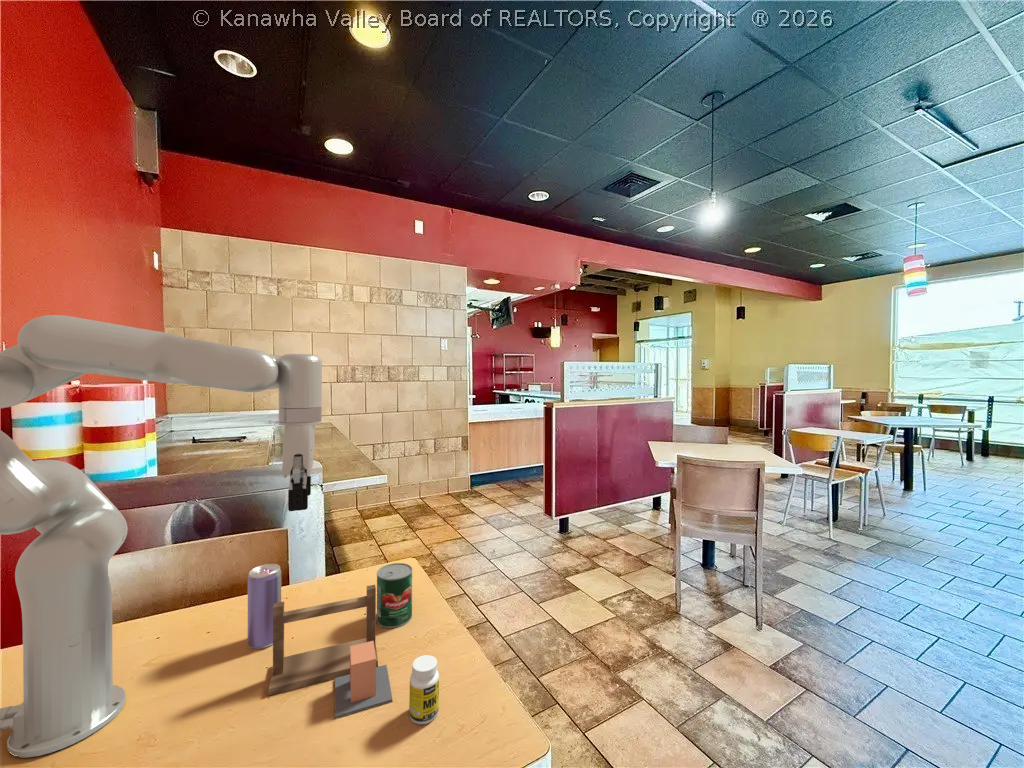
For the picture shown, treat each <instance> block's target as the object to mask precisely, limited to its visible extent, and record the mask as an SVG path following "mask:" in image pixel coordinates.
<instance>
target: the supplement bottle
mask: <svg viewBox="0 0 1024 768" xmlns="http://www.w3.org/2000/svg"><path fill="white" fill-rule="evenodd" d="M411 666H412V667H411V668H412V670H411V674H410V677H409V701H408V703H409V706H408V708H409V710H408V714H409V719H410V720H411V722H413V723H414V724H417V725H426V724H429V723H431V722H432V721H433V720H435V719H436V717H437V715H438V713H439V709H440V708H439V703H440V702H439V701H440V700H439V698H440V697H439V695H440V692H439V691H440V674H439V670H438V660H437V658H436V657H435V656H433V655H428V654H424V655H421V656H418V657H416V658H415V659H414V660H413V661H412V665H411Z"/></svg>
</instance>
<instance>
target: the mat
mask: <svg viewBox="0 0 1024 768" xmlns="http://www.w3.org/2000/svg"><path fill="white" fill-rule="evenodd" d="M387 665H388V664H383V665H380V666H379V665H378V667H376V696H372V697H369V698H365V699H362V700H358V701H355V702H351V686H350V674H349V675H345V676H341V677H337V678H334V718H335V719H339V718H341V717H345V716H348V715H352V714H355V713H358V712H362V711H365V710H368V709H373V708H375V707H378V706H382V705H385V704H389V703H391V702H393V694H392V689H391V683H390V677H389V671H388V666H387Z"/></svg>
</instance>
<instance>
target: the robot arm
mask: <svg viewBox="0 0 1024 768" xmlns="http://www.w3.org/2000/svg"><path fill="white" fill-rule="evenodd" d="M322 367H323V366H322V360H321V358H320V357H319V356H318V355H316V354H309V353H308V354H307V353H306V354H305V353H287V354H284V355H279V354H278V355H276V354H269V353H267V352H265V351H263V350H259V349H255V348H254V349H253V348H249V347H248V348H247V347H242V346H236V345H229V344H224V343H219V342H212V341H207V340H202V339H201V340H200V339H195V338H190V337H184V336H180V335H177V334H173V333H169V332H163V331H159V330H151V329H145V328H140V327H133V326H127V325H123V324H116V323H111V322H105V321H99V320H94V319H88V318H82V317H76V316H69V315H63V314H62V315H61V314H48V315H47V314H46V315H41V316H38V317H34V318H32V319H31V320H29V321H28V322H26V323H24V324H23V326H21V328H20V330H19V332H18V333H17V344H16V345H13V346H11V347H9V348H6V349H3V350H0V409H5V408H10V407H15V406H17V405H20V404H23V403H26V402H28V401H30V400H32V399H35V398H38V397H40V396H42V395H44V394H45V393H48V392H50V391H52V390H55V389H57V388H59V387H60V386H63V385H65V384H68V383H70V382H73V381H74V380H77V379H78V378H80V377H83V376H84V375H86V374H91V375H101V376H107V377H108V376H110V377H116V378H117V377H119V378H127V379H133V380H141V381H147V382H148V381H149V382H156V383H162V384H182V385H191V386H198V387H204V388H213V389H220V390H229V391H237V392H242V393H243V392H244V393H259V392H260V393H261V392H263V391H266V390H274V389H275V390H276V389H278V425H279V426H284V429H283V440H282V464H281V465H282V467H281V469H282V470H281V476H282V477H283V478H284V479H287V477H288V476H289V486H288V488H289V489H287V490H288V494H287V495H288V496H287V499H288V500H287V504H288V505H287V507H288V508H287V510H288V512H295V511H306V510H308V506H309V505H308V503H309V501H308V500H309V496H310V495H311V493H312V487H311V486H312V485H311V484H312V483H311V482H312V477H311V474H312V471H313V465H314V457H315V445H316V444H315V442H316V441H315V440H316V439H315V438H316V436H315V435H316V425H320V424H322V415H323V414H322V409H323V408H322V404H323V403H322V401H323V399H322V396H323V395H322V394H323V393H322V392H323V391H322V390H323V389H322V385H323V384H322V381H323V380H322V377H323V376H322V375H323V371H322V369H323V368H322ZM32 528H34V529H35V530H37V532H39V533H40V535H39V536H37V537H36V538H35V539H34V540H32V542H31V543H29V544H28V546H26V547H25V549H24V550H23V551H22V553H21V554H20V557H19V558H18V561H17V563H16V566H15V571H14V579H15V586H16V590H17V593H18V597H19V602H20V608H21V609H20V610H21V621H22V626H21V627H22V663H23V664H22V669H23V670H22V671H23V672H22V673H23V674H22V676H23V678H22V680H23V681H22V682H23V683H22V684H23V694H22V695H23V696H22V697H23V702H22V703H20V704H16V705H9V706H5V707H0V732H2V731H3V730H4V731H5V730H7V729H9V730H12V731H11V733H10V734H9V736H8V738H7V741H6V749H8V750H9V752H11V753H12V754H14V755H17V756H19V757H20V758H21V759H22V758H33V757H41V756H44V755H48V754H52V753H54V752H57V751H60V750H62V749H65V748H68V747H70V746H72V745H74V744H76V743H78V742H80V741H82V740H84V739H86V738H88V737H89V736H91V735H93V734H95V733H96V732H97V731H99V730H101V729H102V728H103V727H105V726H106V725H107V724H109V722H110V721H112V720H113V719H114V718H115V717H116V716H117V715H118V714H119V713H120V711H121V710H122V709H123V707H124V705H125V703H126V695H127V694H126V691H125V689H124V688H123V687H122V686H119V685H115V684H113V678H114V677H113V672H114V671H113V596H112V595H113V594H112V586H111V581H110V576H109V564H110V563H109V562H110V560H111V559H112V558H113V556H115V553H117V552H118V551H119V549H120V548H121V546H122V545H123V543H124V542H125V540H126V538H127V535H128V530H129V529H128V523H127V520H126V518H125V517H124V515H123V514H122V513H121V511H120V510H119V509H118V508H117V507H116V505H115V504H113V502H112V501H111V500H110V499H109V498H108V497H107V496H106V494H104V493H103V492H102V490H100V489H99V487H98V486H97V485H96V484H95V483H94V482H93V481H92V480H91V478H89V477H88V475H86V473H84V472H83V471H82V470H81V469H79V468H78V467H76V466H74V465H73V464H71V463H68V462H66V461H63V460H57V459H37V460H32V459H31V457H29V456H28V455H27V454H26V453H25V452H24V451H23V450H22V449H21V448H20V447H19V446H18V444H17V443H16V442H15V441H14V440H13V439H12V438H11V437H10V436H9V435H8V434H6V432H3V430H1V429H0V535H3V536H4V535H5V536H6V535H14V534H15V535H16V534H18V533H23V532H26V531H29V530H31V529H32ZM8 750H7V751H8ZM19 757H18V758H19Z"/></svg>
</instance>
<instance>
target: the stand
mask: <svg viewBox="0 0 1024 768" xmlns="http://www.w3.org/2000/svg"><path fill="white" fill-rule="evenodd" d="M360 608H361V609H362V608H366V616H365V617H366V618H365V619H366V621H365V622H366V623H365V625H366V629H365V631H366V632H365V633H366V634H365V635H366V637H365V638H361V639H360V638H359V639H355V640H352V641H348V642H344V643H340V644H339V643H337V644H334V645H331V646H330V645H329V646H326V647H322V648H318V649H314V650H309V651H305V652H301V653H296V654H292V655H287V656H285V624H288V623H292V622H293V623H294V622H298V621H304V620H308V619H312V618H313V619H314V618H319V617H324V616H326V615H327V616H328V615H332V614H337V613H338V614H339V613H342V612H347V611H351V610H357V609H360ZM376 622H377V586H376V584H372V585H366V595H364V596H359V597H354V598H350V599H343V600H338V601H333V602H328V603H322V604H317V605H312V606H308V607H302V608H297V609H291V610H287V611H285V601H281V602H279V603H274V606H273V645H272V672H271V677H270V682H269V688H268V696H272V695H276V694H280V693H281V694H282V693H284V692H287V691H288V692H289V691H292V690H293V691H294V690H296V689H300V688H303V687H308V686H311V685H315V684H319V683H322V682H326V681H330V680H335V678H337V677H341V676H345V675H349V674H350V646H353V645H357V644H361V643H366V642H370V641H374V648H375V655H376V667H379V659H378V652H377V651H378V650H377V644H376V631H377V629H376V626H377V625H376V624H377V623H376Z"/></svg>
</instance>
